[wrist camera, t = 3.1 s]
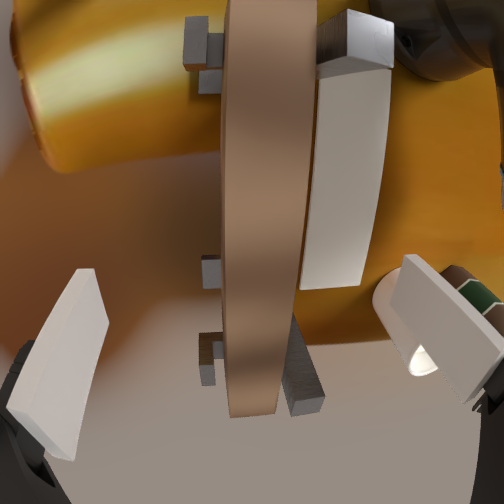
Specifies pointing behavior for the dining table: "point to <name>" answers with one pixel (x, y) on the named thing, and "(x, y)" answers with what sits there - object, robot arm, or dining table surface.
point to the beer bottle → (476, 295)
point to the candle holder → (400, 328)
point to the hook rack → (327, 65)
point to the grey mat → (345, 177)
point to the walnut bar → (263, 188)
